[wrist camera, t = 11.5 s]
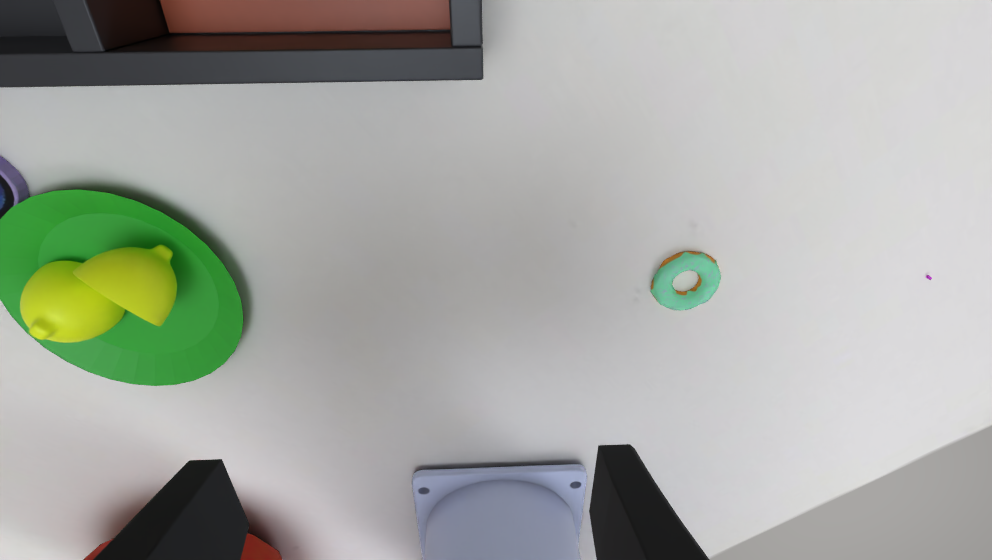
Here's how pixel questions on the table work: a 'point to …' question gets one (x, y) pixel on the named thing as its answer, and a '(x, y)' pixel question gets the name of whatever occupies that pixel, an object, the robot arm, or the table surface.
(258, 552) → the apple
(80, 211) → the green plate
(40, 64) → the tray
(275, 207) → the table surface
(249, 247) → the table surface
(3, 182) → the smartphone
